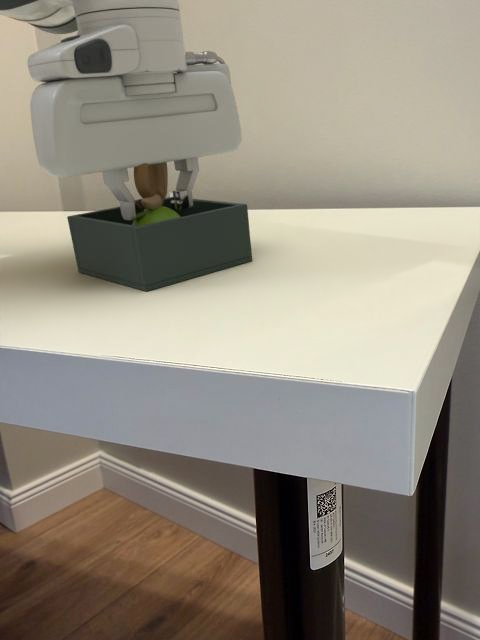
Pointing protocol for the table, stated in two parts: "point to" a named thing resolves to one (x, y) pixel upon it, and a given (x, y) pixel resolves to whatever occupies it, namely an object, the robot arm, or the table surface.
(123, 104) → the robot arm
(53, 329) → the table surface
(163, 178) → the snail figurine
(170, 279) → the bin
